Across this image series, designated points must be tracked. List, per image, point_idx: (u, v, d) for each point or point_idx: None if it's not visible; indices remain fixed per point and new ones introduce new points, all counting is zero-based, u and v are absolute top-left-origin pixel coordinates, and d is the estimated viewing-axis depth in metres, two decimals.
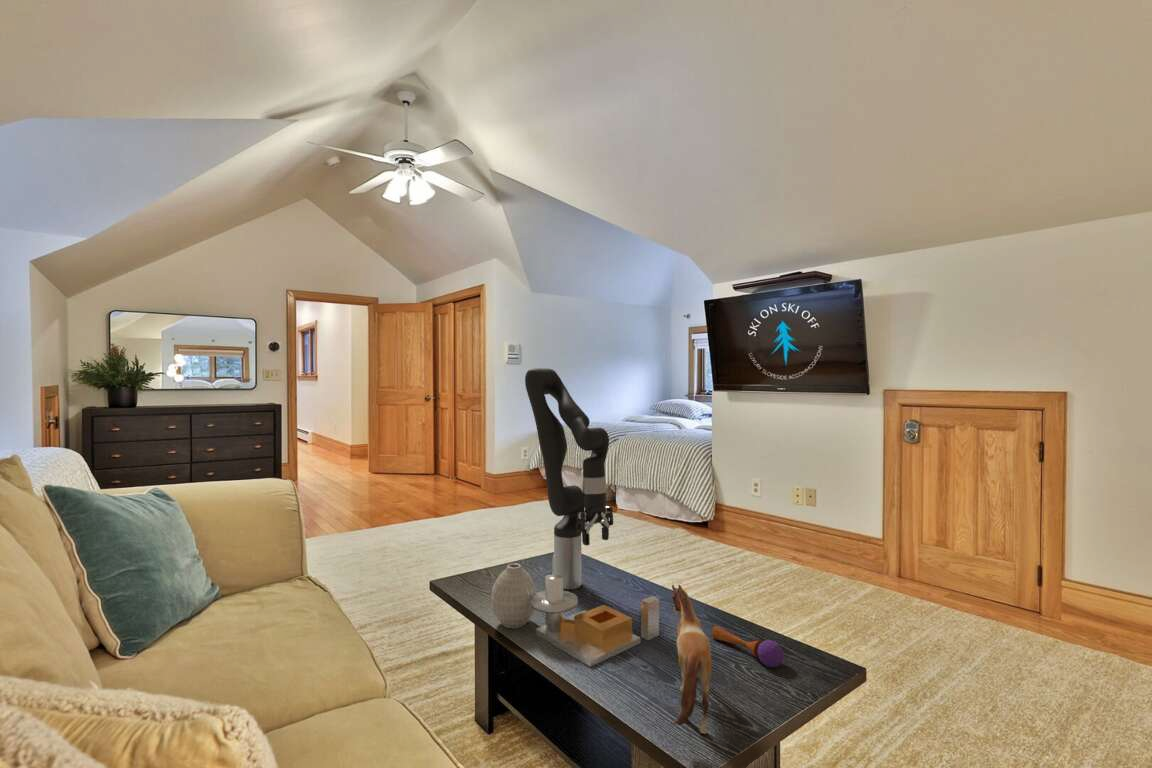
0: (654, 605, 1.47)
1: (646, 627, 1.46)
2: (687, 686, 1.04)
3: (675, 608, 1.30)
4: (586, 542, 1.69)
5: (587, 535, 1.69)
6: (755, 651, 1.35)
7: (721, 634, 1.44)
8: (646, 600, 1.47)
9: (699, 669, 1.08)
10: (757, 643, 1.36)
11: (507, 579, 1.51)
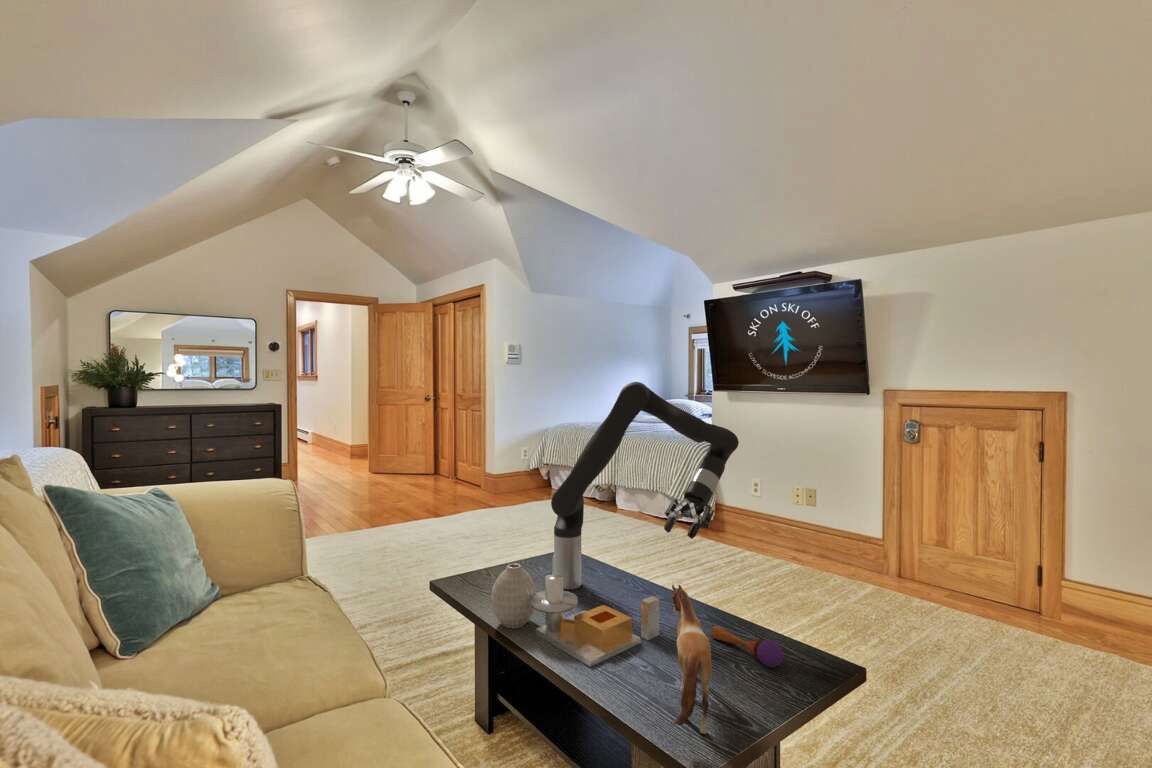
0: (654, 605, 1.47)
1: (646, 627, 1.46)
2: (687, 686, 1.04)
3: (675, 608, 1.30)
4: None
5: None
6: (754, 651, 1.35)
7: (720, 634, 1.44)
8: (646, 600, 1.47)
9: (699, 669, 1.08)
10: (757, 643, 1.36)
11: (507, 579, 1.51)
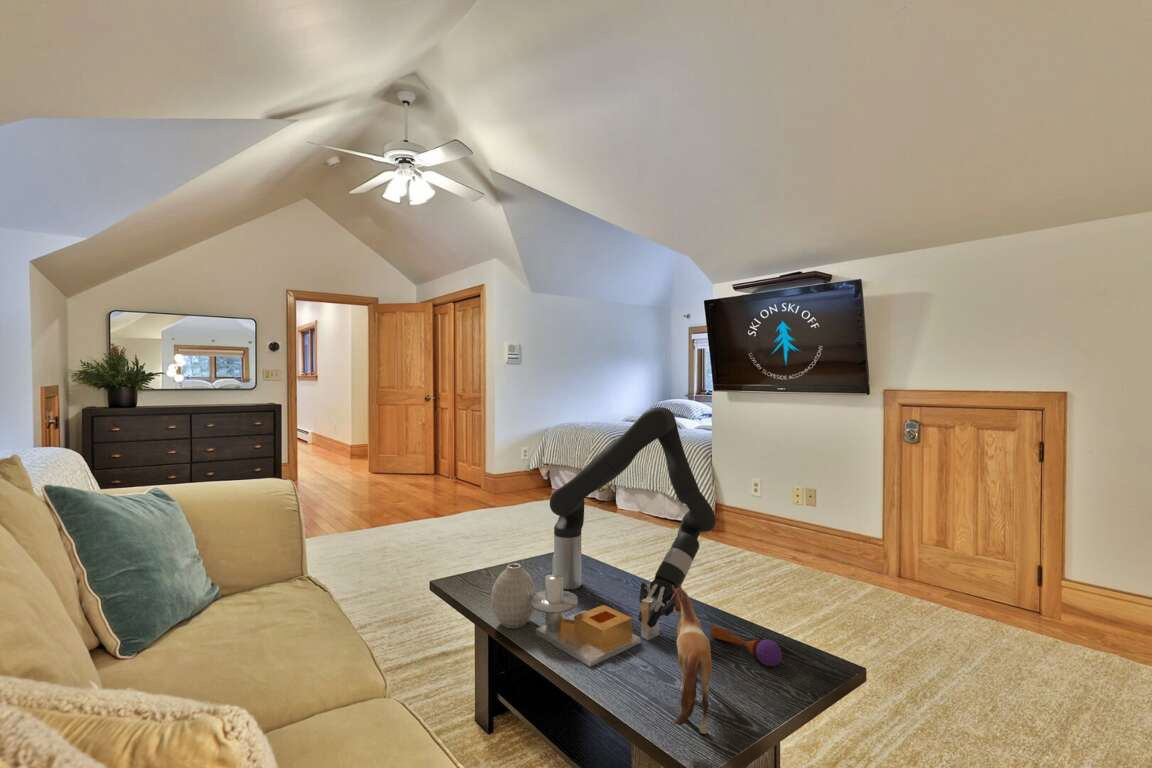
0: (654, 605, 1.47)
1: (646, 627, 1.46)
2: (687, 686, 1.04)
3: (675, 608, 1.30)
4: None
5: None
6: (753, 650, 1.35)
7: (720, 633, 1.45)
8: (646, 600, 1.47)
9: (699, 669, 1.08)
10: (755, 642, 1.36)
11: (507, 579, 1.51)
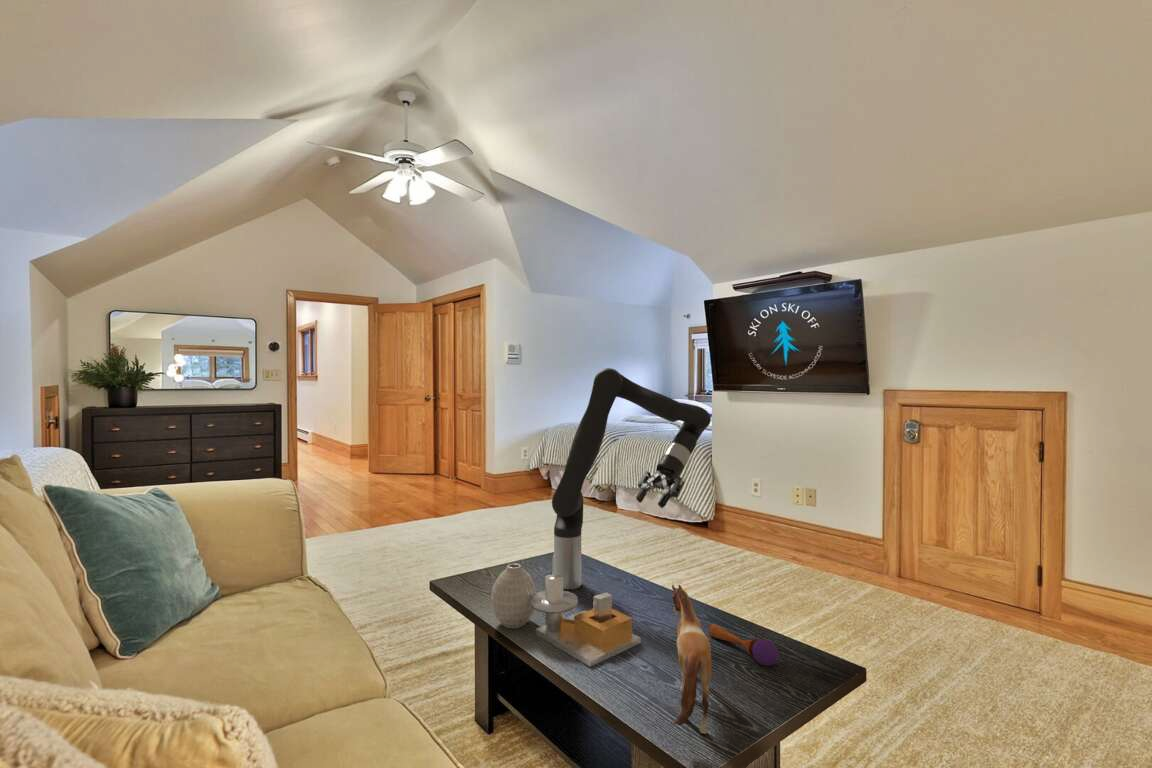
0: (606, 601, 1.45)
1: None
2: (687, 686, 1.04)
3: (675, 608, 1.30)
4: None
5: None
6: (750, 649, 1.36)
7: (718, 632, 1.45)
8: (598, 596, 1.46)
9: (699, 669, 1.08)
10: (752, 641, 1.36)
11: (507, 579, 1.51)
